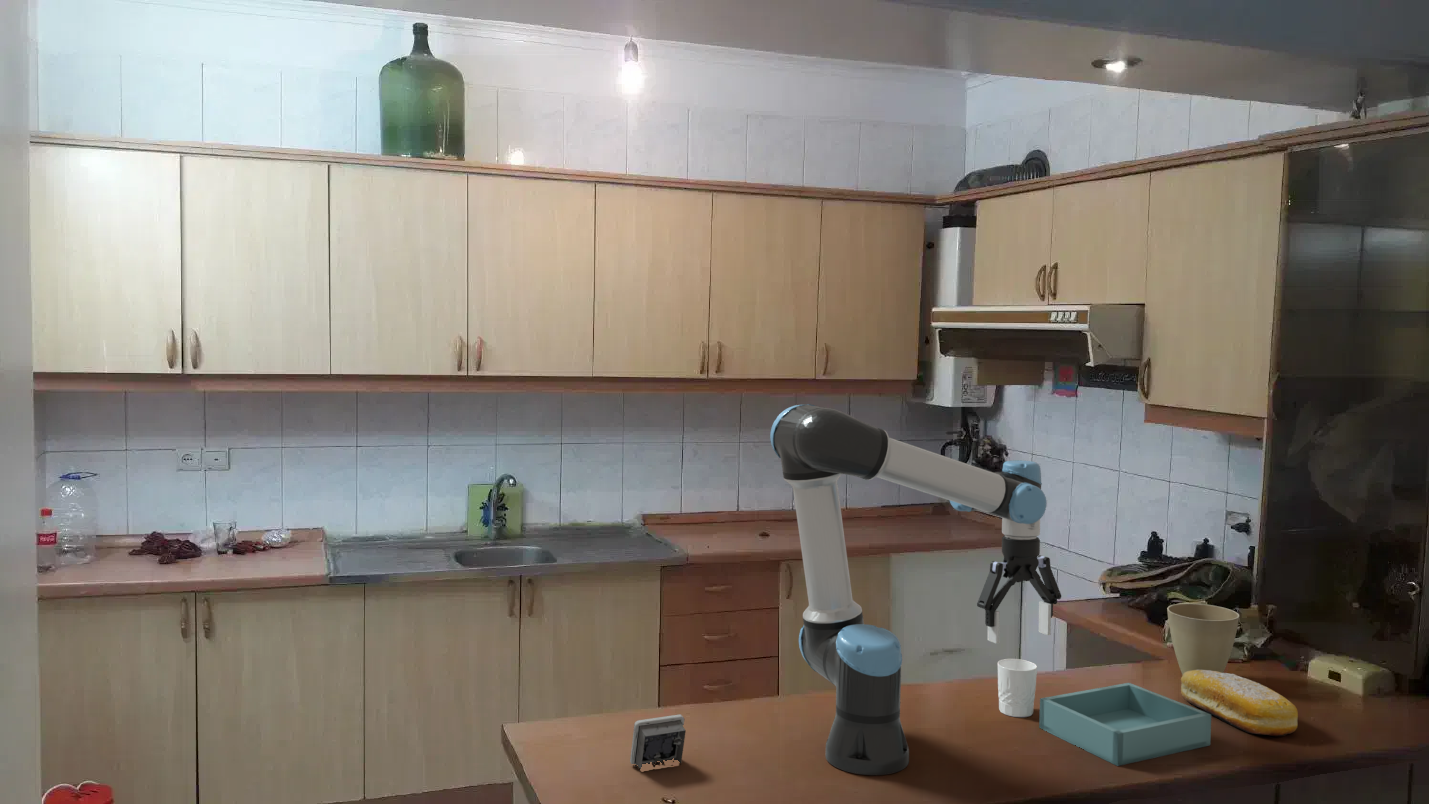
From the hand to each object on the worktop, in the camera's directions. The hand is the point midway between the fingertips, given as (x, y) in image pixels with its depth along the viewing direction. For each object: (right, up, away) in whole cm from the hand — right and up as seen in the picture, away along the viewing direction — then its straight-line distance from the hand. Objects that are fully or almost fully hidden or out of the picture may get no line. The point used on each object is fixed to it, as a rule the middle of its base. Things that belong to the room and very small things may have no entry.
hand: (1019, 637), depth 212 cm
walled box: (+17, -17, -12) cm, 26 cm away
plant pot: (+48, -15, +22) cm, 55 cm away
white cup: (0, -16, +1) cm, 16 cm away
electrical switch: (-73, -17, -29) cm, 80 cm away
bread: (+44, -17, 0) cm, 48 cm away
